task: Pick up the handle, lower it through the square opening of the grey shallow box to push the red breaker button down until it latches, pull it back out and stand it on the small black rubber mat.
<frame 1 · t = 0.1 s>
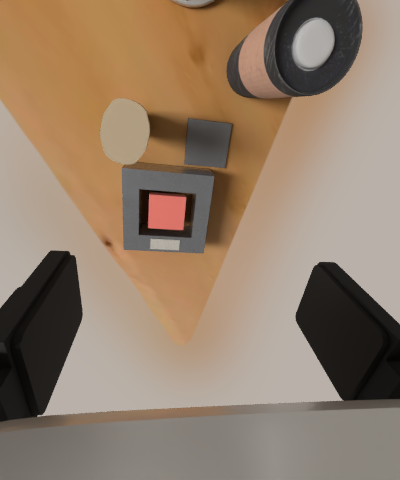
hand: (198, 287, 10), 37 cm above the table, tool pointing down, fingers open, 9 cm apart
button: (166, 211, 44), point 4 cm above the table, slide at 0.0 cm
travel mug: (249, 70, 38), on the table
mat: (207, 144, 43), on the table
handle: (139, 122, 40), on the table
grey shallow box: (167, 204, 47), on the table
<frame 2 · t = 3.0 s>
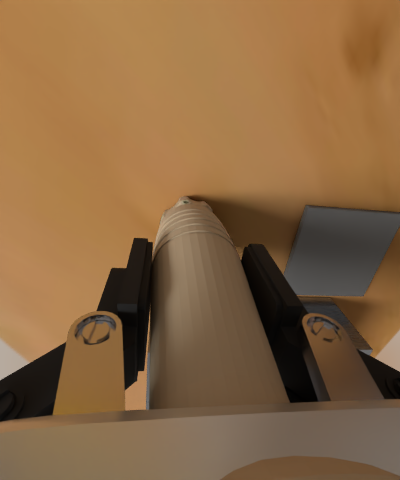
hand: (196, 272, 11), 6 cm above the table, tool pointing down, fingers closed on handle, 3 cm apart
mat: (335, 254, 19), on the table
handle: (187, 218, 16), on the table, touching gripper
grey shallow box: (230, 357, 23), on the table
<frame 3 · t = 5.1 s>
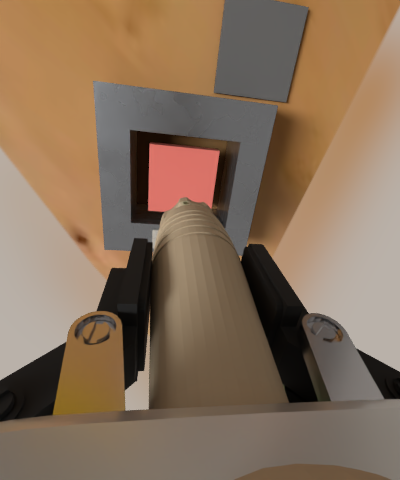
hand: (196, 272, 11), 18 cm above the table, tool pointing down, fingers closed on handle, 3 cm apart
button: (182, 180, 24), point 4 cm above the table, slide at 0.0 cm
mat: (257, 52, 23), on the table
handle: (187, 218, 16), point 12 cm above the table, touching gripper
grey shallow box: (180, 171, 27), on the table
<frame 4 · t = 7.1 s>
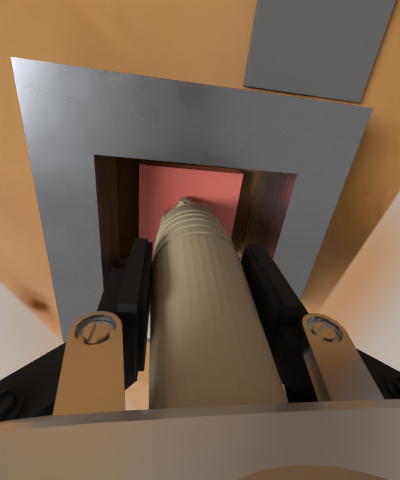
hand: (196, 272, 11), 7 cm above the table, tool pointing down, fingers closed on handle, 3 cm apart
button: (187, 214, 17), point 1 cm above the table, slide at 2.6 cm, touching handle
mat: (321, 17, 13), on the table
handle: (187, 218, 16), point 1 cm above the table, touching button, gripper
grey shallow box: (186, 208, 17), on the table
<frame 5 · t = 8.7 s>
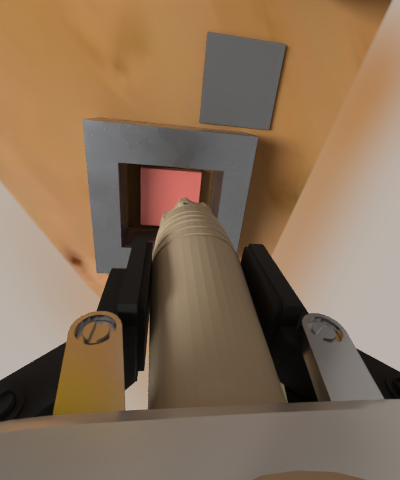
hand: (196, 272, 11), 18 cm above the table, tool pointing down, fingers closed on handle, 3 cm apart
button: (170, 197, 27), point 1 cm above the table, slide at 2.6 cm
mat: (240, 85, 24), on the table
handle: (187, 219, 16), point 12 cm above the table, touching gripper
grey shallow box: (170, 195, 28), on the table
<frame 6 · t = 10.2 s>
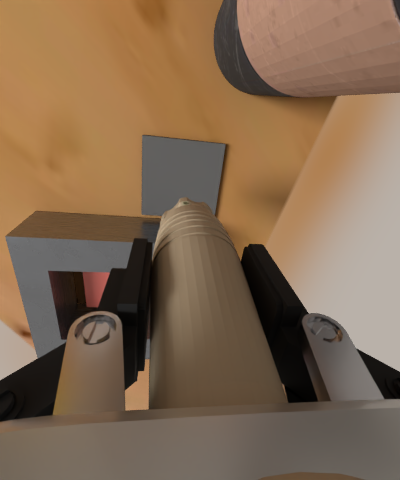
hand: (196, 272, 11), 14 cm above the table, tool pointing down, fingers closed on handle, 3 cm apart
button: (116, 281, 27), point 1 cm above the table, slide at 2.6 cm
travel mug: (259, 40, 19), on the table
mat: (181, 179, 24), on the table
handle: (187, 218, 16), point 8 cm above the table, touching gripper
grey shallow box: (117, 275, 28), on the table
when the fingers open (7 cm above the table, at t = 11.7 s): handle stays where it is, resting on mat.
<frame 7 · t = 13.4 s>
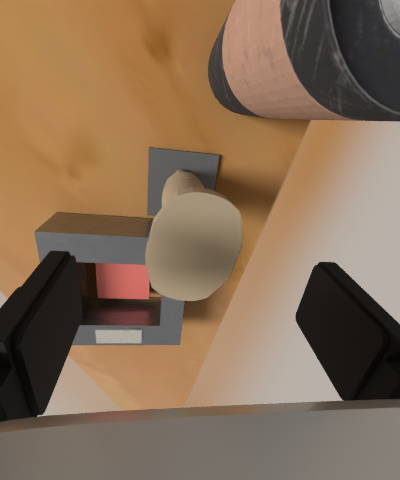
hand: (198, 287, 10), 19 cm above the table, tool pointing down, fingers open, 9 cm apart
button: (124, 275, 30), point 1 cm above the table, slide at 2.6 cm
travel mug: (245, 70, 24), on the table
mat: (181, 185, 27), on the table
handle: (181, 184, 27), resting on mat
grey shallow box: (125, 270, 31), on the table
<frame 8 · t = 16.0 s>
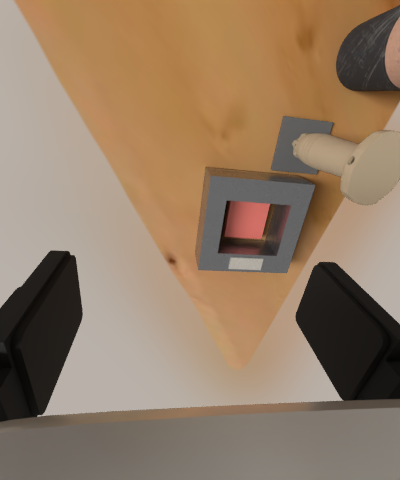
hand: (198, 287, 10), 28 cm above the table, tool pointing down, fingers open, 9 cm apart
button: (245, 218, 39), point 1 cm above the table, slide at 2.6 cm
travel mug: (362, 58, 32), on the table
mat: (300, 146, 36), on the table
handle: (301, 145, 36), resting on mat
grey shallow box: (244, 216, 40), on the table
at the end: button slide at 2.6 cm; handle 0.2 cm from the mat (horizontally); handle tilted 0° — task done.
